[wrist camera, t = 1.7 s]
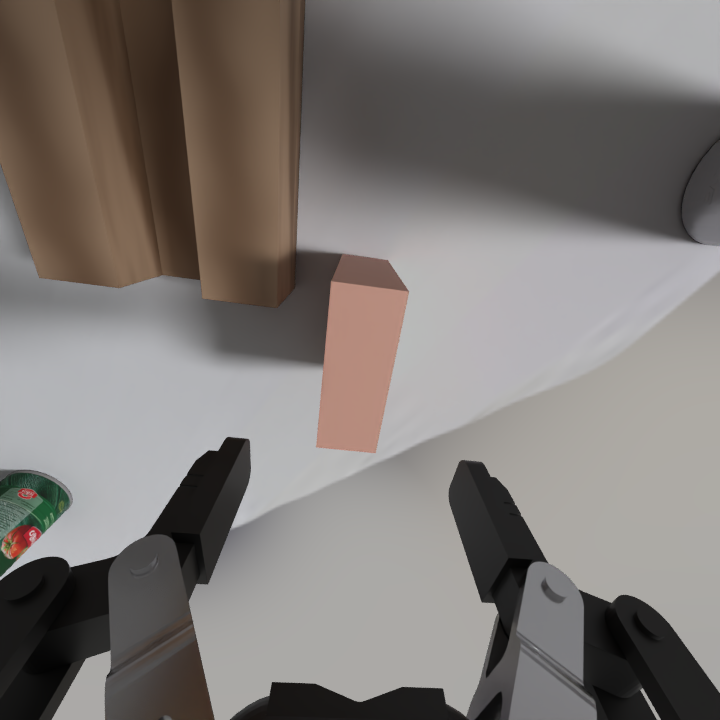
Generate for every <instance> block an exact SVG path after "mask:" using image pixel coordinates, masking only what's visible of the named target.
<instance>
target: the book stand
mask: <svg viewBox="0 0 720 720" xmlns="http://www.w3.org/2000/svg"><path fill="white" fill-rule="evenodd" d="M304 19H305V0H0V164H1V167H2V170H3V173H4V175H5V178H6V181H7V184H8V187H9V190H10V193H11V196H12V199H13V202H14V205H15V208H16V211H17V214H18V217H19V220H20V222H21V225H22V228H23V231H24V234H25V237H26V240H27V243H28V246H29V249H30V252H31V255H32V258H33V261H34V264H35V266H36V269H37V272H38V275H39V278H45V279H52V280H60V281H68V282H76V283H84V284H92V285H100V286H107V287H115V288H121V287H124V286H128V285H131V284H134V283H138V282H141V281H144V280H148V279H151V278H154V277H158V276H161V275H167V276H174V277H182V278H190V279H197V280H201V290H202V299H210V300H217V301H225V302H233V303H241V304H249V305H257V306H265V307H272V308H278V306H279V305H280V304H281V303H282V302H283V301H284V300H285V299H286V297H287V296H288V295H289V294H290V293H291V292H292V291H293V290H294V288H295V269H296V241H297V213H298V186H299V158H300V130H301V102H302V75H303V47H304Z"/></svg>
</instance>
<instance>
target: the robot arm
mask: <svg viewBox="0 0 720 720" xmlns="http://www.w3.org/2000/svg"><path fill="white" fill-rule="evenodd" d="M682 219H683V224H684V227H685V229H686V231H687V232H688V234H689V235H690V236H691V237H692V238H693V239H694V240H696V241H698V242H700V243H702V244H706V245H714V246H720V140H719V141H718V142H717V143H716V144H714V145H713V147H712V148H711V149H710V150H709V151H708V153H707V154H706V155H705V156H704V157H703V159H702V160H701V161H700V163H699V165H698V166H697V168H696V169H695V171H694V173H693V174H692V176H691V179H690V181H689V183H688V185H687V188H686V191H685V195H684V198H683V202H682ZM250 472H251V462H250V441H249V439H244V438H233V437H227V438H226V439H225V440H224V442H223V444H222V446H221V447H220V449H219V451H210V450H209V451H207V452H206V453H205V454H204V455H202V456H201V457H200V458H199V459H197V460H196V461H195V463H194V464H193V466H192V467H191V469H190V470H189V472H188V473H187V476H185V478H184V479H183V481H182V482H181V484H180V487H178V489H177V490H176V492H175V493H174V495H173V496H172V498H171V499H170V501H169V502H168V504H167V505H166V507H165V508H164V510H163V511H162V513H161V515H160V516H159V518H158V519H157V521H156V522H155V524H154V525H153V527H152V528H151V530H150V531H149V532H148V534H147V535H146V536H145V537H144V538H141V539H139V540H137V541H135V542H133V543H132V544H130V545H129V546H128V547H126V548H125V549H124V550H123V551H122V552H121V553H120V554H119V555H117V556H114V557H111V558H108V559H104V560H100V561H96V562H91V563H87V564H83V565H79V566H74V567H70V566H69V564H68V563H67V561H66V560H64V559H63V558H60V557H45V558H40V559H37V560H34V561H32V562H29V563H27V564H25V565H23V566H21V567H19V568H17V569H16V570H14V571H12V572H11V573H10V574H8V575H7V576H5V577H4V578H3V579H2V580H0V720H52V718H53V716H54V714H55V712H56V711H57V709H58V707H59V705H60V704H61V702H62V700H63V698H64V696H65V695H66V693H67V691H68V689H69V688H70V686H71V684H72V682H73V680H74V679H75V677H76V675H77V673H78V672H79V670H80V668H81V666H82V664H83V662H84V661H85V659H86V658H89V657H91V656H95V655H97V654H101V653H104V652H107V651H110V650H111V669H110V673H109V674H108V675H107V677H106V683H105V720H214V715H213V710H212V706H211V701H210V697H209V692H208V688H207V683H206V679H205V674H204V670H203V666H202V661H201V657H200V652H199V647H198V643H197V638H196V634H195V630H194V625H193V620H192V616H191V612H190V607H189V599H190V597H191V595H192V592H193V590H194V588H195V585H196V584H208V583H209V580H210V578H211V576H212V573H213V570H214V568H215V566H216V563H217V561H218V558H219V556H220V553H221V551H222V548H223V545H224V543H225V541H226V538H227V536H228V533H229V531H230V528H231V526H232V523H233V521H234V518H235V516H236V513H237V511H238V508H239V506H240V503H241V501H242V498H243V496H244V493H245V491H246V488H247V486H248V483H249V478H250ZM449 502H450V506H451V509H452V512H453V515H454V518H455V522H456V525H457V528H458V531H459V534H460V537H461V540H462V543H463V546H464V549H465V552H466V555H467V558H468V562H469V565H470V567H471V571H472V574H473V576H474V580H475V583H476V586H477V589H478V592H479V595H480V598H481V601H482V602H485V603H495V605H496V607H497V610H498V614H497V616H496V619H495V622H494V626H493V630H492V634H491V638H490V642H489V646H488V650H487V654H486V658H485V662H484V667H483V670H482V674H481V678H480V681H479V684H478V687H477V690H476V692H475V694H474V696H473V699H472V701H471V704H470V707H469V710H468V713H467V716H466V717H465V716H464V715H463V714H462V713H461V712H459V711H457V710H456V709H454V708H453V707H451V706H449V705H447V704H446V702H445V697H444V692H443V689H441V688H413V687H401V688H399V689H396V690H393V691H390V692H388V693H385V694H382V695H380V696H377V697H374V698H372V699H369V700H366V701H363V702H357V701H354V700H351V699H349V698H347V697H345V696H342V695H340V694H337V693H335V692H333V691H331V690H328V689H326V688H324V687H322V686H319V685H317V684H305V683H280V682H279V683H278V682H272V685H271V691H270V696H268V697H265V698H262V699H259V700H257V701H255V702H253V703H252V704H250V705H248V706H247V707H245V708H244V709H243V710H241V711H240V712H238V713H237V714H236V715H235V716H233V717H232V718H231V719H230V720H657V719H656V718H655V716H654V714H653V712H652V710H651V709H650V707H649V705H648V703H647V701H646V700H645V698H644V696H643V694H642V693H641V691H640V690H641V689H642V688H643V689H644V691H645V692H646V694H647V696H648V698H649V699H650V701H651V703H652V705H653V706H654V708H655V710H656V712H657V713H658V715H659V717H660V718H661V720H720V693H719V692H718V690H717V689H716V687H715V686H714V685H713V683H712V682H711V680H710V679H709V678H708V677H707V675H706V674H705V672H704V671H703V669H702V668H701V667H700V665H699V664H698V663H697V661H696V660H695V658H694V657H693V656H692V654H691V653H690V652H689V650H688V649H687V647H686V646H685V645H684V644H683V642H682V641H681V639H680V638H679V637H678V635H677V634H676V632H675V631H674V630H673V628H672V627H671V626H670V624H669V623H668V622H667V621H666V620H665V619H664V618H663V617H662V616H661V615H660V614H659V613H658V612H657V611H656V610H654V609H653V608H652V607H651V606H649V605H648V604H646V603H645V602H643V601H641V600H639V599H637V598H635V597H632V596H629V595H621V596H619V597H617V598H616V599H615V600H614V601H613V602H612V603H610V602H608V601H605V600H603V599H600V598H598V597H595V596H592V595H590V594H588V593H585V592H583V591H581V590H578V589H577V587H576V586H575V584H574V583H573V582H572V581H571V580H570V578H569V577H568V576H567V575H566V574H564V573H563V572H562V571H560V570H559V569H558V568H556V567H555V566H553V565H551V564H549V563H548V562H547V560H546V559H545V557H544V555H543V553H542V551H541V550H540V548H539V546H538V544H537V542H536V540H535V539H534V537H533V535H532V533H531V531H530V530H529V528H528V526H527V524H526V522H525V521H524V519H523V517H521V513H520V512H519V510H518V508H517V506H516V505H515V503H514V501H513V499H512V497H511V495H510V494H509V492H508V490H507V489H506V488H505V487H504V486H503V485H502V484H501V483H500V481H498V479H497V478H495V477H490V475H489V473H488V471H487V469H486V467H485V465H484V464H483V463H482V462H476V461H465V460H462V461H460V462H459V464H458V467H457V469H456V472H455V475H454V477H453V480H452V482H451V485H450V488H449Z"/></svg>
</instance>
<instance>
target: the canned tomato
mask: <svg viewBox="0 0 720 720" xmlns="http://www.w3.org/2000/svg"><path fill="white" fill-rule="evenodd" d="M72 500H73V499H72V495H71V493H70V491H69V490H68V489H67V487H66V486H65V485H63V484H62V483H61V482H60V481H58V480H57V479H55V478H53V477H51V476H49V475H47V474H44V473H41V472H37V471H31V470H20V471H15V472H13V473H11V474H9V475H8V476H7V477H6V478H5V479H3V480H2V481H1V482H0V577H1V576H2V575H3V574H4V573H5V572H6V570H7V569H9V568H10V567H11V566H12V565H13V563H14V562H15V561H17V560H18V559H19V558H20V556H21V555H22V554H24V553H25V552H26V551H27V549H28V548H29V547H31V546H32V545H33V543H34V542H35V541H36V540H37V539H38V538H40V536H41V535H42V534H43V533H44V532H45V531H46V530H47V529H48V528H49V527H50V526H51V525H52V524H53V523H54V522H55V521H56V520H57V519H58V518H59V517H60V516H61V515H62V514H63V513H64V512H65V511H66V510H67V509H68V508H70V506H71V504H72Z"/></svg>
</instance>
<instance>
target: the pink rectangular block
mask: <svg viewBox="0 0 720 720" xmlns="http://www.w3.org/2000/svg"><path fill="white" fill-rule="evenodd" d="M408 294H409V291H408V289H407V288H406V286H405V285H404V284H403V282H402V281H401V279H400V278H399V276H398V275H397V273H396V272H395V270H394V269H393V267H392V266H391V264H390V263H389V261H388V260H382V259H375V258H368V257H361V256H354V255H346V254H342V256H341V259H340V261H339V264H338V266H337V268H336V271H335V273H334V276H333V278H332V280H331V289H330V300H329V311H328V322H327V333H326V344H325V356H324V367H323V378H322V389H321V400H320V411H319V422H318V434H317V445H316V447H319V448H329V449H339V450H349V451H359V452H370V453H376V448H377V443H378V439H379V434H380V429H381V424H382V419H383V414H384V410H385V405H386V400H387V395H388V390H389V386H390V381H391V376H392V371H393V366H394V362H395V357H396V352H397V347H398V342H399V337H400V333H401V328H402V323H403V318H404V313H405V309H406V304H407V299H408Z"/></svg>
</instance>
